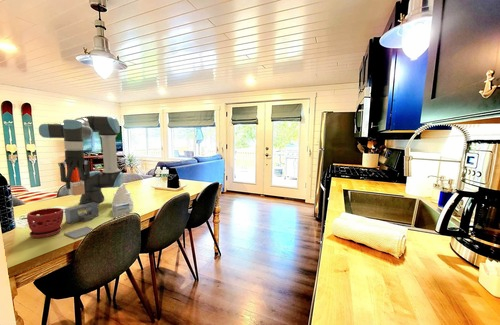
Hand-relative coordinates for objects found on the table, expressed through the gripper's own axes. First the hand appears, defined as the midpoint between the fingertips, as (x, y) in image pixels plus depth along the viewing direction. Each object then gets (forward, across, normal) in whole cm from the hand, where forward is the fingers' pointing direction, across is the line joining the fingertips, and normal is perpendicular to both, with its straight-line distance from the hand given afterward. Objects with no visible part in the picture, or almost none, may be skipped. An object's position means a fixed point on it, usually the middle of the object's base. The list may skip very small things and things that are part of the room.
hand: (76, 193), depth 111 cm
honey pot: (+19, -31, -10) cm, 38 cm away
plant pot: (+20, +10, -8) cm, 24 cm away
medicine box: (+20, -21, +4) cm, 29 cm away
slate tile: (+20, +2, +6) cm, 21 cm away
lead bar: (+20, -9, -14) cm, 26 cm away
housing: (+19, -9, -15) cm, 26 cm away
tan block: (0, 0, 0) cm, 1 cm away
